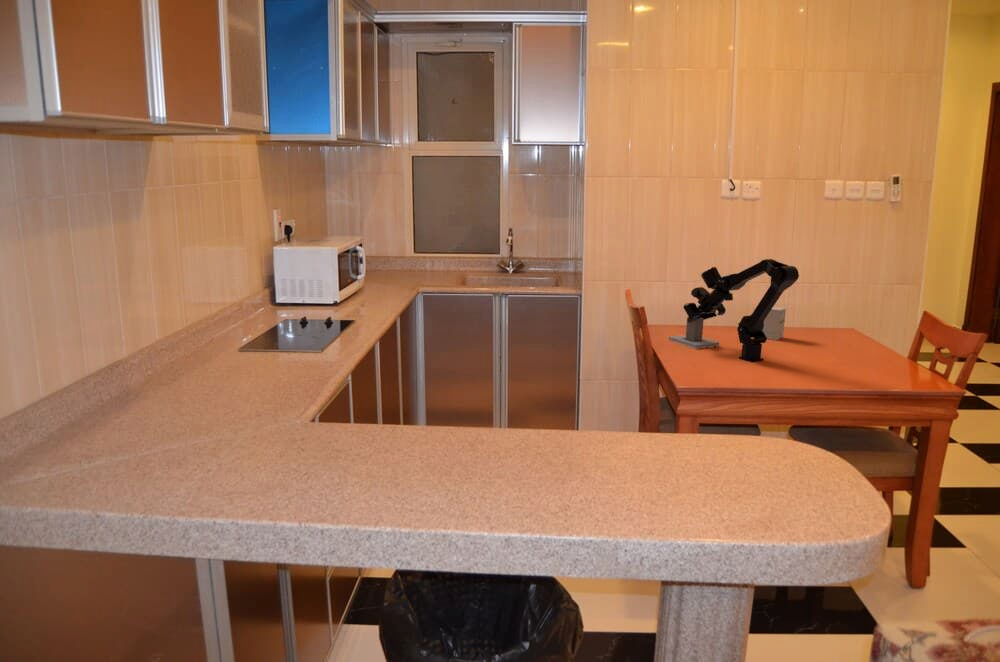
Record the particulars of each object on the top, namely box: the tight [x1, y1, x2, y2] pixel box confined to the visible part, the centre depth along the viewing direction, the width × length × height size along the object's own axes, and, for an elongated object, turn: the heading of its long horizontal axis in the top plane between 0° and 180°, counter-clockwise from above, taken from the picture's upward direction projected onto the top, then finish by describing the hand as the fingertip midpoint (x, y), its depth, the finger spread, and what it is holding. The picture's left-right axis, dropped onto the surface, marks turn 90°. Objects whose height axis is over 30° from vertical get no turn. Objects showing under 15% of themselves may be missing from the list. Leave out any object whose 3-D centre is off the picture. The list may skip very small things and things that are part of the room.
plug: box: [685, 316, 704, 342], centre depth 311 cm, size 4×4×12 cm
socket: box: [668, 334, 720, 350], centre depth 312 cm, size 16×12×2 cm
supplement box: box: [762, 306, 787, 341], centre depth 324 cm, size 7×7×13 cm
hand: (692, 321), depth 312 cm, fingers open, 5 cm apart
